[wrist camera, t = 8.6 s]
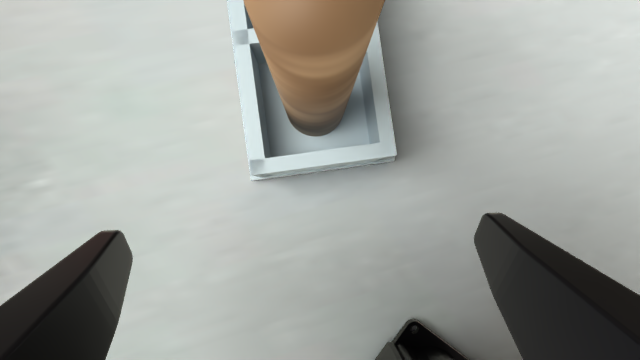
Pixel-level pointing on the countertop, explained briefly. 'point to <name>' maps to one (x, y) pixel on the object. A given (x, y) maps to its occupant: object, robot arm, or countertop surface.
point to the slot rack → (279, 134)
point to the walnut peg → (314, 54)
